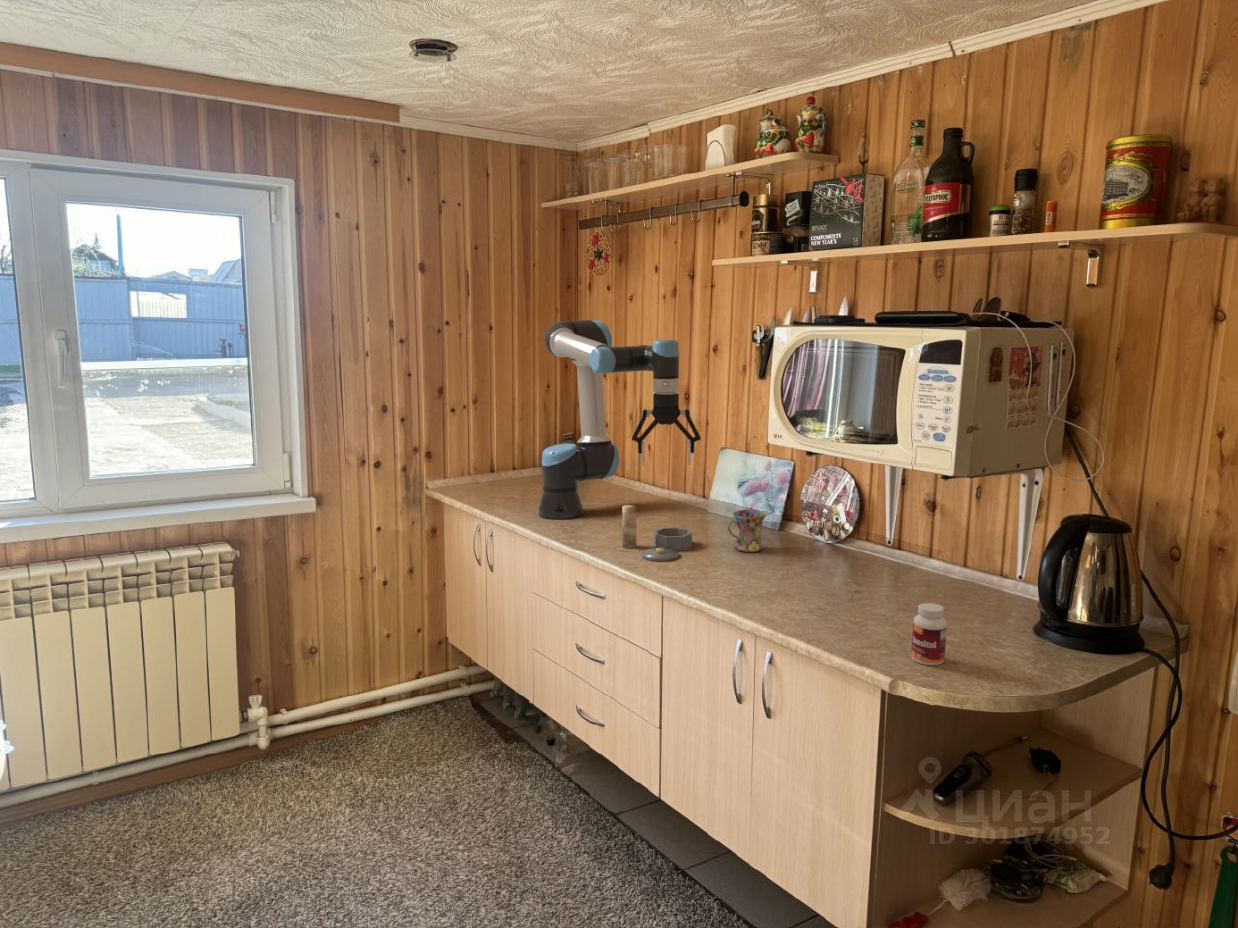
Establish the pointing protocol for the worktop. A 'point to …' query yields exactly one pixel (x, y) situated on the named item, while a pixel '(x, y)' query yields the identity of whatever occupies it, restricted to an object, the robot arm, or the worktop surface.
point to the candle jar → (673, 538)
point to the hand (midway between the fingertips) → (666, 464)
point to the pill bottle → (929, 635)
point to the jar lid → (660, 554)
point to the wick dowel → (629, 526)
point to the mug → (748, 530)
